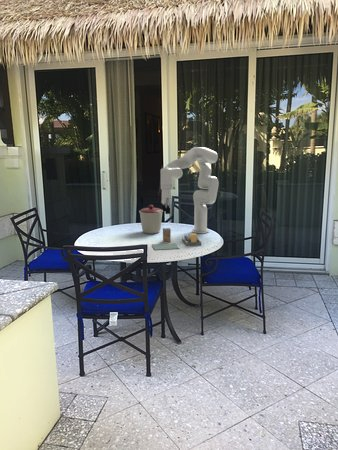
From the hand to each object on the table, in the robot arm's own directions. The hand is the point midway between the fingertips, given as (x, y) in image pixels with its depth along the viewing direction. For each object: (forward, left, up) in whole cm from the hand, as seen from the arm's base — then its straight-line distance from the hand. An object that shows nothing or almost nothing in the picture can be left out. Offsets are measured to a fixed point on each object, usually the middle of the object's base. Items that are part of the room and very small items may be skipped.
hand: (166, 212), depth 242 cm
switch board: (+6, +16, -20) cm, 27 cm away
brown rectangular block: (0, 0, -20) cm, 20 cm away
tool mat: (+13, -3, -20) cm, 24 cm away
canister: (-29, -7, -20) cm, 36 cm away
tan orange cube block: (+10, +16, -18) cm, 26 cm away
